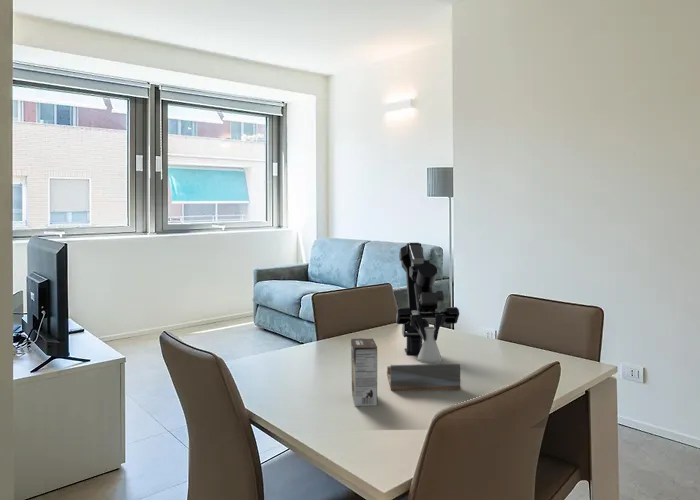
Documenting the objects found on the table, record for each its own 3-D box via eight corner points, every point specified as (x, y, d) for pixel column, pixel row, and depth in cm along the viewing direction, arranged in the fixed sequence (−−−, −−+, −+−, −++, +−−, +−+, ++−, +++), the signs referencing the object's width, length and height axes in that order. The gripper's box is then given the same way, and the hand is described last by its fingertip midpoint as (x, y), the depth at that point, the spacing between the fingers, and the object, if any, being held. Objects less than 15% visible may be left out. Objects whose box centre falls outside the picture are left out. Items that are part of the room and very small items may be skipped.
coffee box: (350, 394, 148) (350, 338, 146) (373, 393, 148) (373, 337, 147) (353, 406, 139) (353, 347, 137) (377, 405, 139) (377, 346, 138)
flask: (432, 366, 152) (432, 332, 151) (412, 360, 157) (412, 328, 156) (446, 360, 157) (446, 327, 156) (426, 355, 162) (427, 323, 161)
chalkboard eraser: (386, 374, 164) (386, 352, 164) (450, 373, 165) (450, 351, 164) (390, 390, 151) (390, 366, 150) (460, 389, 151) (460, 365, 150)
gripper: (397, 281, 159) (401, 326, 149) (458, 281, 159) (466, 325, 149) (394, 301, 167) (398, 345, 157) (452, 301, 168) (459, 344, 158)
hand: (430, 340), depth 155 cm, fingers closed on flask, 3 cm apart
